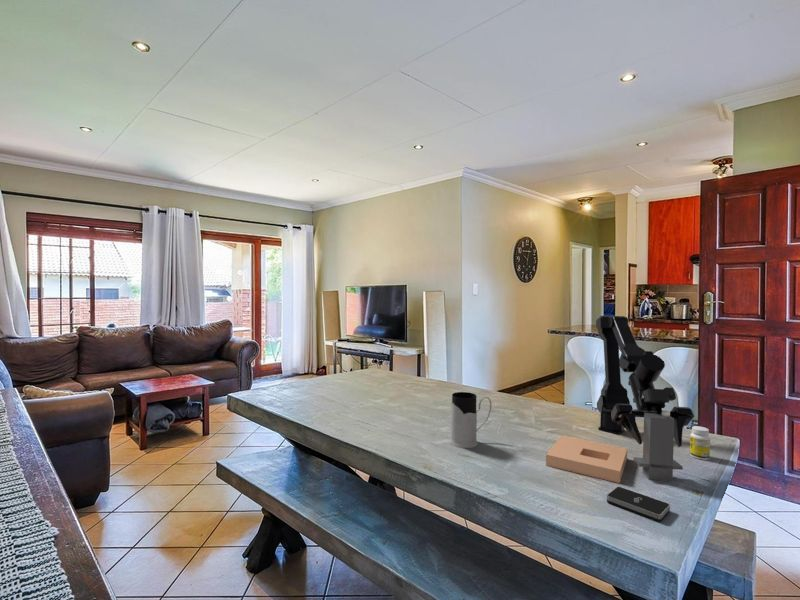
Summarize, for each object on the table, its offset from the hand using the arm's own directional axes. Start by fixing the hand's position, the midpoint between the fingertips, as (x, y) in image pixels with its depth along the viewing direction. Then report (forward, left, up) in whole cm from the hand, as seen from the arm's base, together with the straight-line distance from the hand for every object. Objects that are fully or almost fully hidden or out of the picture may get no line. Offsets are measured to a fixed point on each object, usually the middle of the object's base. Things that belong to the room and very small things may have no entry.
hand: (660, 445), depth 106 cm
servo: (-1, +1, -9) cm, 9 cm away
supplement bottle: (+3, +25, -9) cm, 27 cm away
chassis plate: (-17, -3, -9) cm, 19 cm away
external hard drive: (+1, -19, -9) cm, 21 cm away
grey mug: (-48, -16, -9) cm, 51 cm away
